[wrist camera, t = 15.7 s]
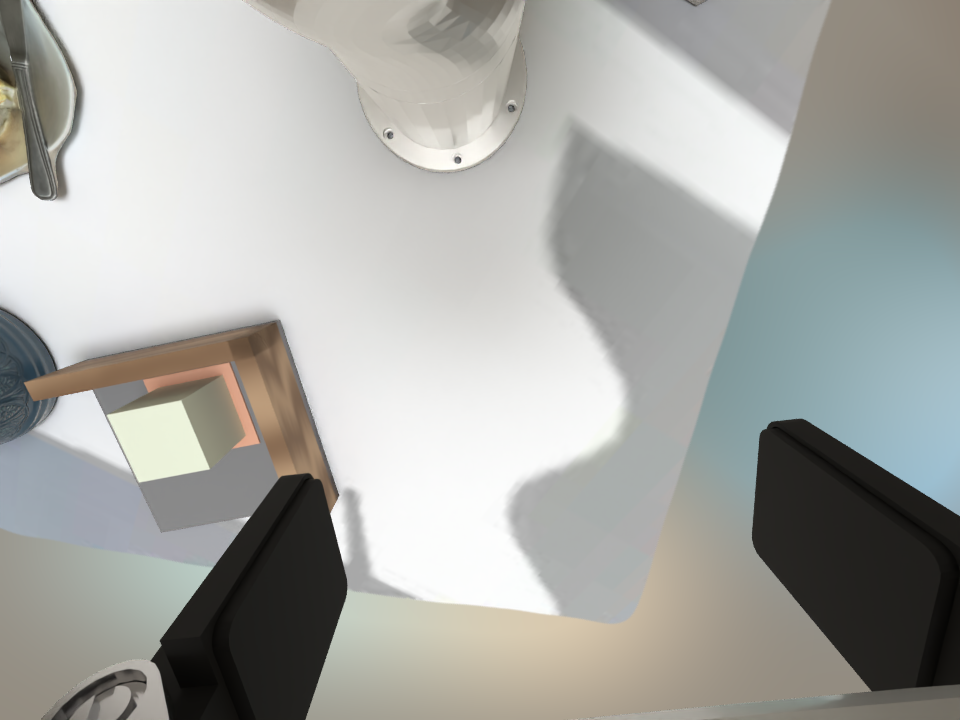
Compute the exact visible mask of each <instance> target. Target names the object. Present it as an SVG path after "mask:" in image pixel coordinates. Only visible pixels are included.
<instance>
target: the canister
mask: <svg viewBox="0 0 960 720" xmlns="http://www.w3.org/2000/svg"><path fill="white" fill-rule="evenodd" d="M54 371H56V369H55V366H54V363H53V361H52V358H51V356H50V354H49V353H48V351H47V349H46V348H45V346H44V345H43V343H42V342H41V341H40V339H39V338H38V337H37V336H36V335H35V333H34V332H33V331H32V330H31V329H29V328H28V327H27V326H26V325H25V324H24V323H22V322H21V321H20V320H18V319H17V318H16V317H14V316H12V315H11V314H9V313H7V312H5V311H4V310H1V309H0V444H3V443H6V442H9V441H11V440H14V439H16V438H17V437H20V436H22V435H24V434H25V433H27V432H29V431H30V430H31V429H33V428H34V427H35V426H36V425H37V424H39V423H40V422H41V421H43V420H44V419H45V418H46V417H47V416H48V415H49V413H50V412H51V410H52V408H53V406H54V404H55V401H56V398H57V397H53V398H48V399H43V400H38V401H33V399H32V397H31V395H30V393H29V392H28V390H27V388H26V386H25V384H24V382H27V381H29V380H32V379H35V378H38V377H40V376H43V375H46V374H49V373H52V372H54Z"/></svg>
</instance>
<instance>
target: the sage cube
mask: <svg viewBox="0 0 960 720" xmlns="http://www.w3.org/2000/svg"><path fill="white" fill-rule="evenodd" d="M107 417H108V419H109V421H110V423H111V425H112V428H113V430H114V432H115V434H116V436H117V438H118V440H119V442H120V444H121V446H122V449H123V451H124V453H125V455H126V457H127V459H128V461H129V463H130V465H131V467H132V470H133V472H134V474H135V476H136V478H137V480H138V482H139V483H140V482H145V481H150V480H155V479H161V478H166V477H171V476H177V475H182V474H187V473H193V472H198V471H203V470H209V469H211V468H212V467H213V466H214V465H215V464H216V463H217V462H218V461H219V460H220V459H221V458H223V457H224V456H225V455H226V454H227V453H228V452H229V451H230V450H231V449H232V448H233V447H234V446H235V445H236V444H237V443H239V442H240V441H241V440H242V439H243V438H244V437H245V436H246V434H245V431H244V429H243V426H242V423H241V421H240V418H239V416H238V413H237V411H236V408H235V405H234V403H233V400H232V398H231V395H230V392H229V390H228V387H227V385H226V382H225V379H224V377H223V375H220V376H215V377H210V378H205V379H200V380H194V381H189V382H184V383H179V384H174V385H169V386H164V387H159V388H157V389H155V390H153V391H151V392H149V393H147V394H145V395H144V396H142V397H140V398H138V399H136V400H134V401H132V402H130V403H128V404H127V405H125V406H123V407H121V408H119V409H117V410H115V411H113V412H111V413H109V414H108V415H107Z"/></svg>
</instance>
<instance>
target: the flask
mask: <svg viewBox="0 0 960 720" xmlns="http://www.w3.org/2000/svg"><path fill="white" fill-rule="evenodd" d="M688 1H689V2H691V3H693V4H694V5H696V6H697V5H699V4H701V3H703V2H705V1H706V0H688Z"/></svg>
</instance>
